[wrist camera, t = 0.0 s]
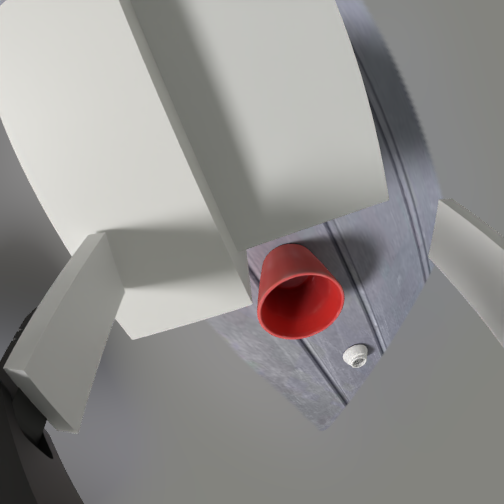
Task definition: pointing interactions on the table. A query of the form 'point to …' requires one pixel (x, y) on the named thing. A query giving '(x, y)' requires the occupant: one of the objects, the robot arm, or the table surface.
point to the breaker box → (186, 136)
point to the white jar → (356, 355)
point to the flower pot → (297, 294)
